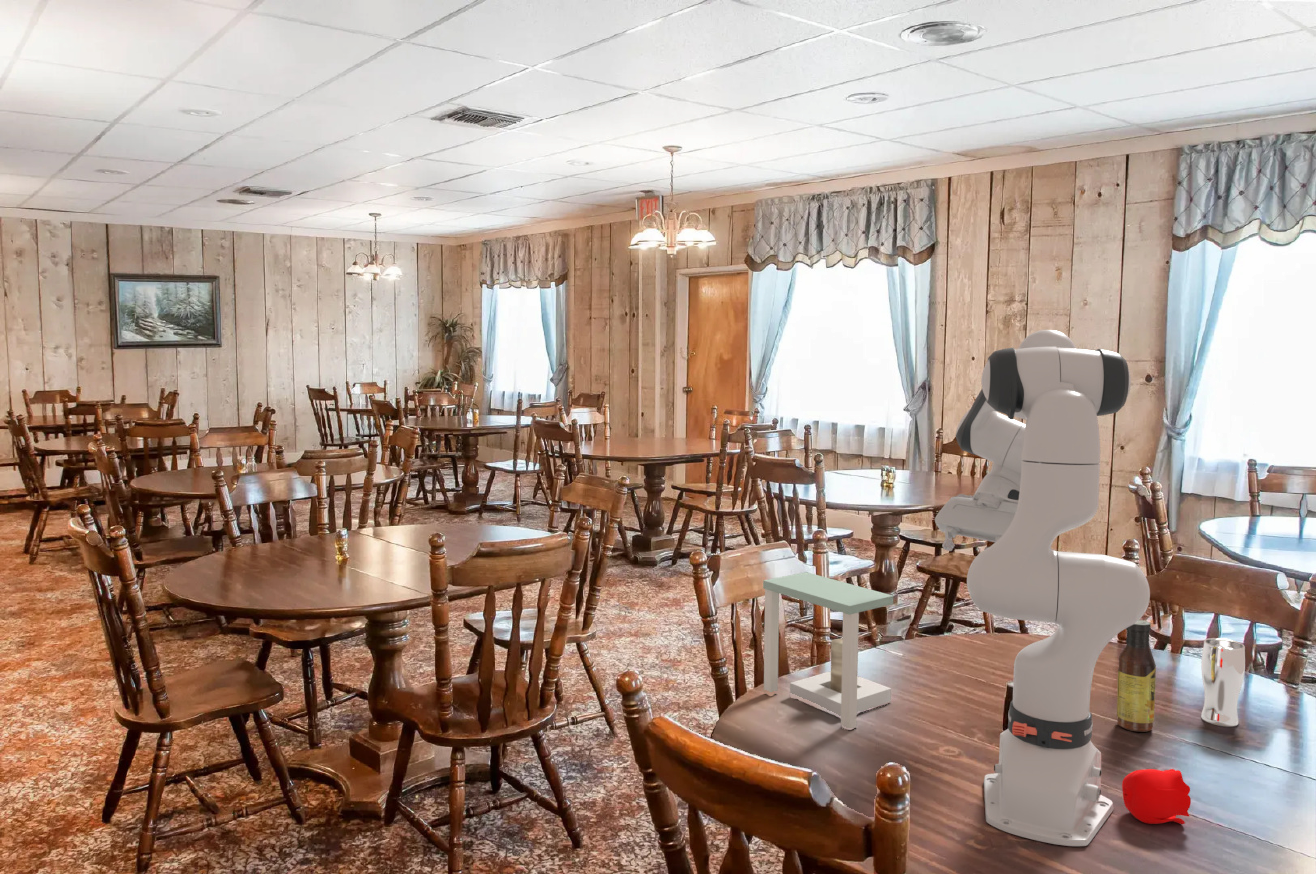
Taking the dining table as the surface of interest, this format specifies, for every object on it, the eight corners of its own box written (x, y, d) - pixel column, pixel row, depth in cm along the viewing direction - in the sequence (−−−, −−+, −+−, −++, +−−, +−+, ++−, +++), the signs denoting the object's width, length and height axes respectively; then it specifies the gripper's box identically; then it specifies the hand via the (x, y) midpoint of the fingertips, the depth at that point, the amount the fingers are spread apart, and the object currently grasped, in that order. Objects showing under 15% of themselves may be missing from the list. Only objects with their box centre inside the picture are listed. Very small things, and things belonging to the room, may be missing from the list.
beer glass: (1229, 714, 180) (1234, 638, 178) (1248, 728, 173) (1253, 650, 171) (1191, 712, 180) (1196, 637, 179) (1209, 727, 173) (1213, 648, 172)
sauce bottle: (1158, 735, 170) (1163, 628, 168) (1121, 732, 171) (1126, 626, 169) (1147, 721, 176) (1152, 618, 174) (1111, 718, 177) (1116, 616, 176)
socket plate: (838, 682, 196) (838, 668, 196) (890, 703, 185) (891, 688, 185) (790, 697, 188) (790, 682, 188) (841, 719, 177) (842, 704, 176)
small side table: (804, 682, 197) (806, 572, 194) (890, 716, 178) (893, 595, 176) (761, 694, 190) (763, 580, 187) (846, 732, 171) (849, 606, 169)
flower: (1110, 769, 144) (1162, 768, 144) (1119, 823, 142) (1172, 822, 142) (1131, 769, 137) (1187, 768, 137) (1141, 826, 135) (1198, 826, 134)
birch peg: (851, 704, 184) (852, 645, 183) (830, 703, 185) (831, 644, 184) (850, 697, 188) (851, 639, 187) (830, 696, 189) (831, 638, 188)
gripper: (948, 483, 198) (916, 534, 193) (1036, 496, 181) (1004, 552, 177) (960, 502, 201) (930, 553, 196) (1048, 516, 184) (1017, 572, 180)
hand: (966, 553), depth 186 cm, fingers open, 8 cm apart
